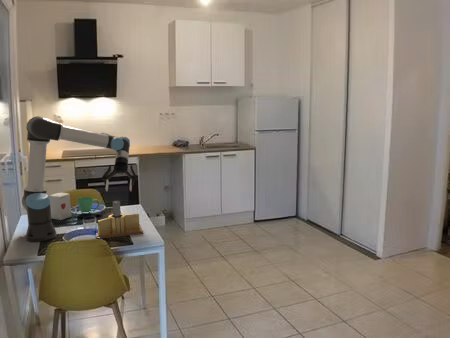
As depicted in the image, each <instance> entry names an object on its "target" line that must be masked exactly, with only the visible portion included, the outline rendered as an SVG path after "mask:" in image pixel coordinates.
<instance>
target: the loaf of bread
mask: <svg viewBox="0 0 450 338" xmlns="http://www.w3.org/2000/svg"><path fill="white" fill-rule="evenodd" d="M96 228H97V229H98V233H96V234H95V238H96V237H100V238H101V239H108V238H116V237H117V238H119V237H125V236H133V235H134V236H136V235H142V234H144V230H143V228H142V226H141V224H140V213H129V214H128V213H127V214H124V213H121V217H113V213H112V214H109V215H108V216H107V217H106V218H103V219H99V220H97V227H96Z"/></svg>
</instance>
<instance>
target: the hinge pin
mask: <svg viewBox="0 0 450 338" xmlns="http://www.w3.org/2000/svg"><path fill="white" fill-rule="evenodd" d="M112 214H113V217H121V214H122V213H121V201H120V200H114V201H112Z"/></svg>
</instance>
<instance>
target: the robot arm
mask: <svg viewBox="0 0 450 338" xmlns="http://www.w3.org/2000/svg"><path fill="white" fill-rule="evenodd" d="M26 131H27V134H26V135H27V137H26V141H27V142H28V143H29V152H28V154H29V155H28V167H27V168H28V171H27V183H26V185H27V186H25V187H24V189H23V196H22V198H21V204H22V206H23V208H24V209H25V210H26V214H27V223H28V224H27V225H28V226H27V229H26V232H25V240H26V241H28V242H32V243H36V242H37V243H39V242H46V241H49V240H52V239H54V238H56V237H57V231H56V228H55V226H54V224H53V221H52V218H51V208H50V198H49V194H47V188H45V178H46V177H45V174H46V173H45V172H46V159H47V147H48V146H47V145H48V144H49V143H50V142H51V141H60V140H61V141H62V140H63V141H65V142H66V141H68V142H71V143H78V144H83V145H89V146H94V147H99V148H104V149H110V150H113V151H115V159H114V165H113V166H112V165H111V164H110V165H108V168H107V170H105V172H104V173H103V175H102V176H101V179H102V181H104V186H105V192H108V191H109V183H110V182H109V180H110V179H113V178H112V177H114V176H115V175H117V174H118V175H119V174H122V175H126V176H127V177H128V178H129V179H130V180H129V181H130V182H129V192H132V189H133V186H135V181H138V177H137V175H136V173H135V170H134V167H133V165H129V156H130V148H131V144H130V143H131V142H130V139H129V138H128V137H126V136H120V137H119V136H114V135H111V134H108V133H105V132H100V133H99V132H95V131H90V130H85V129H81V128H76V127H73V126H72V127H71V126H67V125H66V126H65V125H63V124H62V123H61V122H57V121H53V120H51V119H49V118H46V117H44V116H39V115H38V116H34V117H31V118H30V119H29V120H28V121H27V122H26ZM128 170H129V171H130V172H131V173H130V172H129V171H128Z"/></svg>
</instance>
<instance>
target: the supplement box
mask: <svg viewBox="0 0 450 338" xmlns="http://www.w3.org/2000/svg"><path fill="white" fill-rule="evenodd" d="M48 196H49V198H50V208H51V219H53V220H58V221H62V220H65V219H67V218H71V217H72V207H71V205H72V204H71V194H70V193H67V192H57V193H53V194H50V195H49V194H48Z"/></svg>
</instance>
